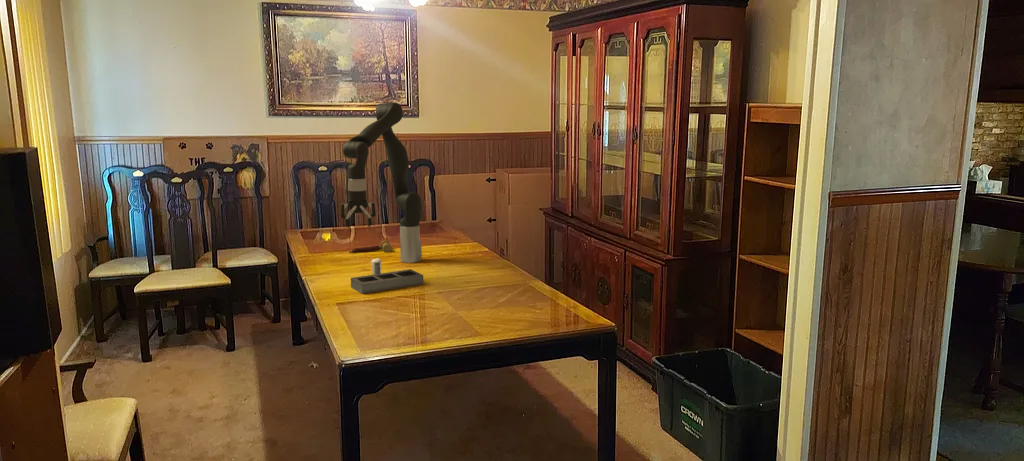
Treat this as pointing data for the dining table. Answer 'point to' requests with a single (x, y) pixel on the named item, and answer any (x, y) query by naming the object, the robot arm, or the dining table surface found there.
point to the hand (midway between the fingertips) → (358, 227)
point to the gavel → (374, 248)
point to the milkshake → (376, 266)
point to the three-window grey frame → (386, 281)
